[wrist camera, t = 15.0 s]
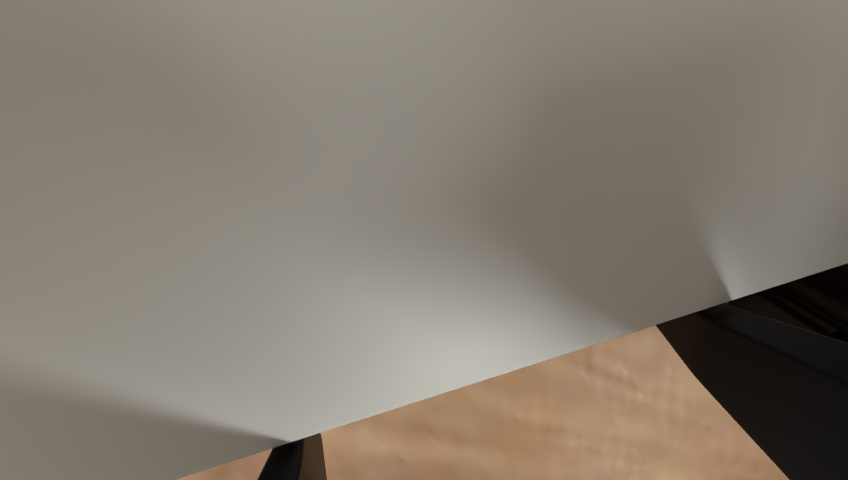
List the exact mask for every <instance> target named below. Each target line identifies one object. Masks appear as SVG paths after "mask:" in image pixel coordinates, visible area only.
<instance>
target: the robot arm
mask: <svg viewBox="0 0 848 480" xmlns="http://www.w3.org/2000/svg"><path fill="white" fill-rule="evenodd" d="M656 326H657V327H658V329H659V330H660V331H661V333H662V334H663V335H664V337H665V338H666V339H667V341H668V342H669V343H670V345H671V346H672V347H673V349H674V350H675V351H676V352H677V354H678V355H679V356H680V358H681V359H682V360H683V362H684V363H685V364H686V366H687V367H688V368H689V370H690V371H691V372H692V373H693V374H694V376H695V377H696V378H697V379H698V380H699V381H700V383H701V384H702V385H703V386H704V387H705V388H706V389H707V390H708V391H709V392H710V394H711V395H712V396H713V397H714V398H715V399H716V400H717V401H718V402H719V403H720V404H721V406H722V407H723V408H724V409H725V410H726V411H727V412H728V413H729V414H730V415H731V416H732V417H733V419H734V420H735V421H736V422H737V423H738V424H739V425H740V426H741V427H742V428H743V429H744V431H745V432H746V433H747V434H748V435H749V436H750V437H751V438H752V439H753V440H754V441H755V442H756V444H757V445H758V446H759V447H760V448H761V449H762V450H763V451H764V452H765V453H766V454H767V456H768V457H769V458H770V459H771V460H772V461H773V462H774V463H775V464H776V465H777V466H778V468H779V469H780V470H781V471H782V472H783V473H784V474H785V475H786V476H787V477H788V478H789V479H790V480H848V263H847V264H844V265H841V266H837V267H834V268H831V269H828V270H825V271H822V272H819V273H816V274H813V275H809V276H806V277H803V278H800V279H797V280H794V281H791V282H788V283H785V284H781V285H778V286H775V287H772V288H769V289H766V290H763V291H760V292H757V293H753V294H750V295H747V296H744V297H741V298H738V299H735V300H732V301H729V302H728V305H727V304H724V303H722V304H719V305H716V306H713V307H710V308H707V309H704V310H701V311H697V312H694V313H691V314H688V315H685V316H682V317H679V318H676V319H673V320H669V321H666V322H663V323H660V324H657V325H656ZM258 480H327V478H326V469H325V461H324V453H323V445H322V438H321V434H320V433H318V434H315V435H312V436H309V437H306V438H302V439H299V440H296V441H293V442H290V443H287V444H284V445H281V446H278V447H274V448H273V449H272V451H271V453H270V455H269V457H268V459H267V461H266V463H265V465H264V467H263V470H262V472H261V474H260V476H259V478H258Z"/></svg>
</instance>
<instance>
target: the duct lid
mask: <svg viewBox="0 0 848 480" xmlns="http://www.w3.org/2000/svg"><path fill="white" fill-rule="evenodd" d="M847 263H848V0H0V480H175V479H178V478H181V477H184V476H187V475H190V474H194V473H197V472H200V471H203V470H206V469H209V468H212V467H215V466H218V465H222V464H225V463H228V462H231V461H234V460H237V459H240V458H243V457H246V456H250V455H253V454H256V453H259V452H262V451H265V450H268V449H271V448H274V447H278V446H281V445H284V444H287V443H290V442H293V441H296V440H299V439H302V438H306V437H309V436H312V435H315V434H318V433H321V432H324V431H327V430H330V429H334V428H337V427H340V426H343V425H346V424H349V423H352V422H355V421H358V420H362V419H365V418H368V417H371V416H374V415H377V414H380V413H383V412H386V411H389V410H393V409H396V408H399V407H402V406H405V405H408V404H411V403H414V402H417V401H421V400H424V399H427V398H430V397H433V396H436V395H439V394H442V393H445V392H449V391H452V390H455V389H458V388H461V387H464V386H467V385H470V384H473V383H477V382H480V381H483V380H486V379H489V378H492V377H495V376H498V375H501V374H505V373H508V372H511V371H514V370H517V369H520V368H523V367H526V366H529V365H533V364H536V363H539V362H542V361H545V360H548V359H551V358H554V357H557V356H561V355H564V354H567V353H570V352H573V351H576V350H579V349H582V348H585V347H589V346H592V345H595V344H598V343H601V342H604V341H607V340H610V339H613V338H617V337H620V336H623V335H626V334H629V333H632V332H635V331H638V330H641V329H645V328H648V327H651V326H654V325H657V324H660V323H663V322H666V321H669V320H673V319H676V318H679V317H682V316H685V315H688V314H691V313H694V312H697V311H701V310H704V309H707V308H710V307H713V306H716V305H719V304H722V303H725V302H729V301H732V300H735V299H738V298H741V297H744V296H747V295H750V294H753V293H757V292H760V291H763V290H766V289H769V288H772V287H775V286H778V285H781V284H785V283H788V282H791V281H794V280H797V279H800V278H803V277H806V276H809V275H813V274H816V273H819V272H822V271H825V270H828V269H831V268H834V267H837V266H841V265H844V264H847Z"/></svg>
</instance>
